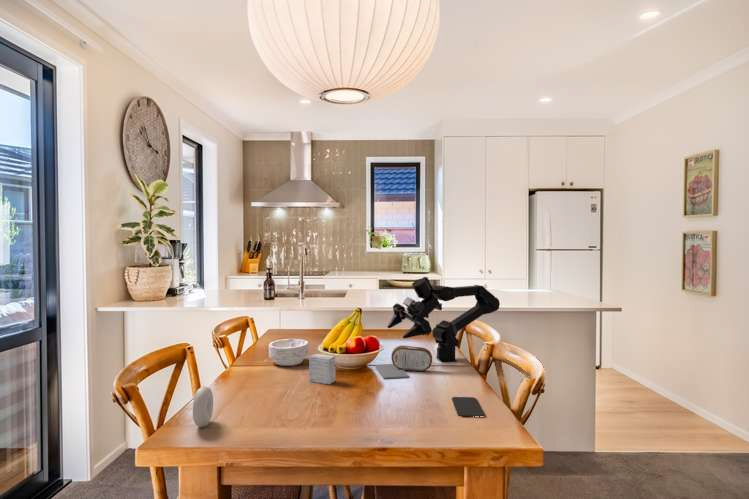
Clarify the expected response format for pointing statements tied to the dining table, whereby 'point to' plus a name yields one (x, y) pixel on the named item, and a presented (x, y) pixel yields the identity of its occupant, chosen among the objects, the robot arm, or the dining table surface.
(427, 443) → the dining table surface
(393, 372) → the tin mat
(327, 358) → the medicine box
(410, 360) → the tin
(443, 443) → the dining table surface
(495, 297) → the robot arm
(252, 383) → the dining table surface
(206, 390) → the grey marbled disc
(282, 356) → the marble bowl
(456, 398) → the phone
